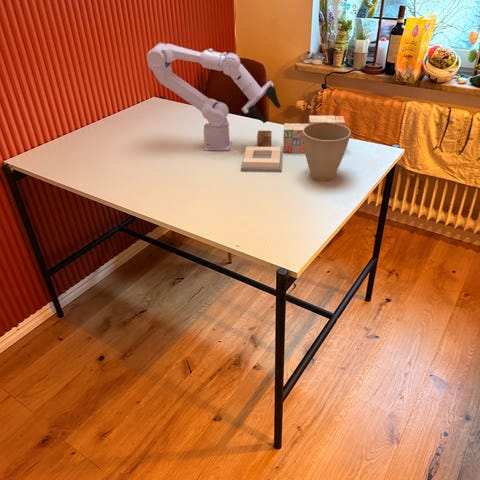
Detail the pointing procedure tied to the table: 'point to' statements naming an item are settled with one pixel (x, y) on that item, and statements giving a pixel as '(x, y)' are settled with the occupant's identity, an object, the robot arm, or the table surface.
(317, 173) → the plant pot
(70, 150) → the table surface
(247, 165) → the puzzle board
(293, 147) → the stack of blocks
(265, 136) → the walnut block
